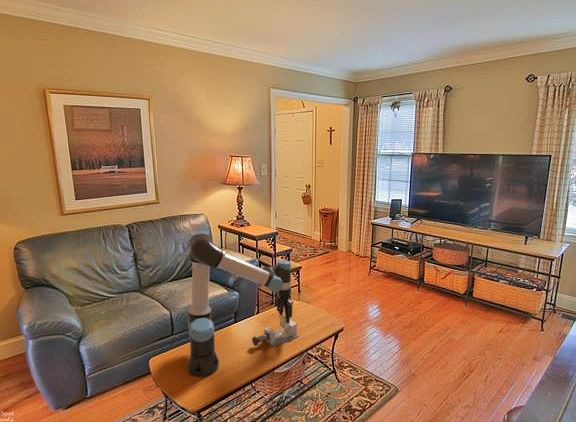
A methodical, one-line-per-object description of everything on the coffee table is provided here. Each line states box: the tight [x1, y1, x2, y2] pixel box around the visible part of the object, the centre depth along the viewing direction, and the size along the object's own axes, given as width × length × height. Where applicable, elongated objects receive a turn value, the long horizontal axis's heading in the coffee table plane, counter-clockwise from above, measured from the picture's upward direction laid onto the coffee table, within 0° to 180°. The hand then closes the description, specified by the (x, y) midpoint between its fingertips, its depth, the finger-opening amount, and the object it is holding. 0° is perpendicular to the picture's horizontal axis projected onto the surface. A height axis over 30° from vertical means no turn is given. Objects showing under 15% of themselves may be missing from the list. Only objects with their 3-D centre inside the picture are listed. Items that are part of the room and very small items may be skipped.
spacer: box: [279, 312, 291, 329], centre depth 197 cm, size 4×4×7 cm
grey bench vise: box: [263, 319, 299, 348], centre depth 196 cm, size 18×11×7 cm, turn 126°
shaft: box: [251, 333, 269, 347], centre depth 189 cm, size 12×5×5 cm, turn 126°
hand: (284, 325), depth 197 cm, fingers closed on spacer, 4 cm apart
